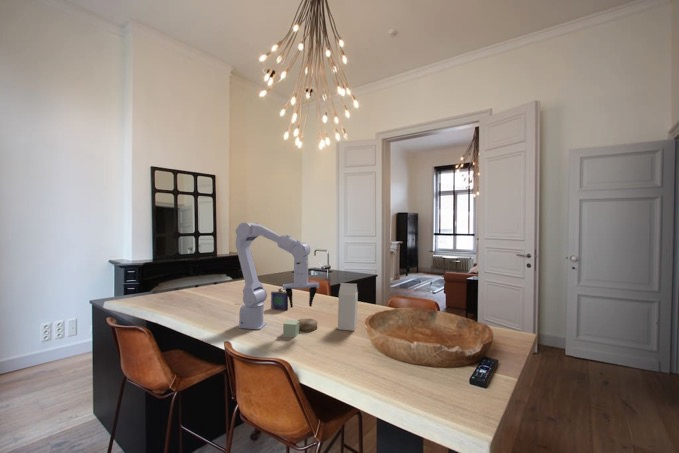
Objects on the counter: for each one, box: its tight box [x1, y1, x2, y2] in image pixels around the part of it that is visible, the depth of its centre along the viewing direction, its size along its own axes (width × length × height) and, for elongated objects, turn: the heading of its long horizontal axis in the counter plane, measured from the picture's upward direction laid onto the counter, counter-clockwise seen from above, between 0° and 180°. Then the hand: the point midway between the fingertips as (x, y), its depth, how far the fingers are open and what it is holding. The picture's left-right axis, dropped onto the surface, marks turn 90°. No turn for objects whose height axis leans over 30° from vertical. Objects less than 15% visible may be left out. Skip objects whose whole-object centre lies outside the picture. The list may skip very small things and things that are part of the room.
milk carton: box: [337, 282, 359, 332], centre depth 132 cm, size 7×7×19 cm
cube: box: [282, 319, 300, 338], centre depth 123 cm, size 5×5×5 cm
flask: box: [270, 287, 289, 312], centre depth 158 cm, size 9×3×11 cm, turn 76°
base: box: [296, 318, 318, 332], centre depth 131 cm, size 9×9×2 cm
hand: (301, 306), depth 125 cm, fingers open, 7 cm apart
